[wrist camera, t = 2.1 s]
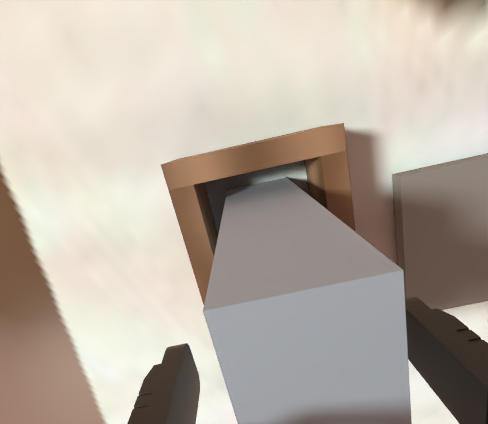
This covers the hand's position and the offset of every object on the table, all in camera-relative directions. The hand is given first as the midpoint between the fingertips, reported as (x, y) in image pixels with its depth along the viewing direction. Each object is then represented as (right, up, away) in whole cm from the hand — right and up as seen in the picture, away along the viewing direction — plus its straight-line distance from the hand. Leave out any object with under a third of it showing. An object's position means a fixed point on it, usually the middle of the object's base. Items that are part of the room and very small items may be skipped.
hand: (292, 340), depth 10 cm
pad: (+14, +3, +11) cm, 18 cm away
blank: (0, +3, +10) cm, 11 cm away
